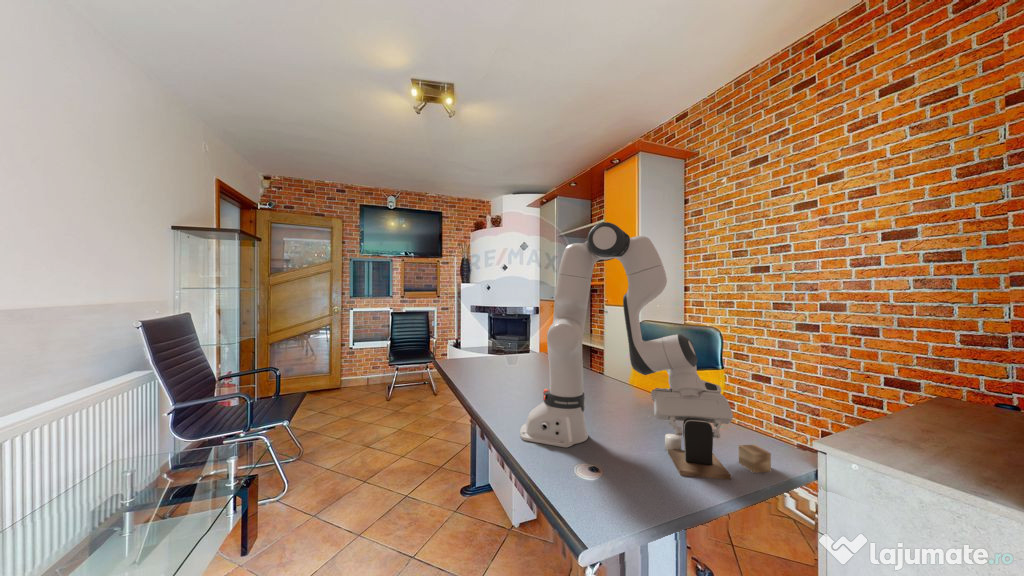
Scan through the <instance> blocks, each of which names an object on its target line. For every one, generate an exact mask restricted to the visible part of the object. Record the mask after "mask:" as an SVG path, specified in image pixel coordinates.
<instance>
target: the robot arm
mask: <svg viewBox="0 0 1024 576" xmlns="http://www.w3.org/2000/svg"><path fill="white" fill-rule="evenodd" d="M586 239H587V240H586V241H585V242H581V243H580V242H574V243H570V244H568V245H567V246H566V247H565V249H564V251H563V253H562V255H561V260H560V263H559V268H558V273H557V280H556V287H555V293H554V306H553V318H552V323H551V325H550V326H549V328H548V330H547V334H546V339H547V340H546V341H547V342H546V344H547V346H546V347H547V355H548V356H547V357H548V365H549V366H548V367H549V389H548V388H544V390H543V392H542V394H543V398H542V399H543V402H541V403H540V404H538V405H537V406H536V407H533V409H532V410H530V411H529V414H528V416H527V418H526V422H524V424H522V426H521V427H520V430H519V436H520V439H521V440H523V441H526V442H533V443H538V444H544V445H548V446H549V445H550V446H554V447H561V448H569V447H571V446H573V445H576V444H581V443H583V442H585V441H587V440H588V439H589V433H588V431H587V430H588V429H587V425H586V419H585V408H586V406H585V405H586V397H585V393H584V367H583V366H584V365H583V363H584V362H583V337H584V333H585V325H586V318H587V312H588V304H589V298H590V292H591V291H590V290H591V284H592V278H593V272H594V267H595V265H596V263H599V262H606V261H608V262H609V261H611V260H614V259H616V260H618V261H619V262H620V263H621V265H622V267H623V269H624V272H625V274H626V278H627V284H628V285H627V286H628V287H627V291H626V292H625V294H624V295H623V298H622V299H623V300H622V304H623V307H622V308H623V313H624V315H623V316H624V321H625V328H626V335H627V342H628V351H629V352H628V355H629V356H628V357H629V362H630V363H629V364H630V365H631V367H632V370H634V371H635V372H636V373H638V374H640V375H643V376H648V375H651V374H655V373H658V372H662V371H666V372H667V374H668V385H669V388H667V387H666V388H661V387H655V388H654V389H652V390H651V391H650V398H651V400H652V401H653V414H654V417H656V419H657V420H664V421H668V424H669V425H670V426H671V428H672V429H673V430H674V434H675V435H678V436H680V437H681V436H683V427H682V426H678V424H677V423H676V421H681V422H684V420H685V419H687V418H692V419H703V420H706V421H708V422H709V423H710V424H712V425H713V427H715V429H713V428H712V430H713V439H720V438H721V433H720V428H721V425H723V424H724V425H728V424H730V423H731V422H732V420H733V419H734V413H733V411H732V408H731V404H730V403H729V401H728V399H727V398H726V397H725V395H723V394H722V387H721V386H720V385H719V384H716V383H713V382H710V381H706V380H703V379H701V378H700V376H699V374H698V372H697V363H698V361H699V360H698V357H697V353H696V349H695V347H694V344H693V342H692V341H691V339H690V338H688V337H686V336H685V335H682V334H679V333H678V334H672V335H666V336H663V337H659V338H655V339H650V340H644V339H643V338H642V337H643V335H642V331H641V324H640V312H641V311H642V310H643V308H644V307H645V306H647V305H648V304H649V303H650V302H652V301H654V299H656V298H657V297H659V296H660V295H661V294H662V293H663V292H664V290H665V289H666V286H667V284H668V278H667V273H666V271H665V267H664V265H663V261H662V259H661V257H660V254H659V253H658V250H657V248H656V247H655V245H654V244H653V241H652V240H651V239H650V238H649V237H647V236H643V235H636V236H632V237H630V235H629V234H627V232H625V231H624V230H623V229H622V228H620V227H619V226H618V225H616V224H615V223H612V222H608V221H607V222H606V221H605V222H603V221H602V222H599V223H597V224H596V225H594V226H593V227H592V228H591V229H590V231H589V232H588V235H587V238H586Z"/></svg>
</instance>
